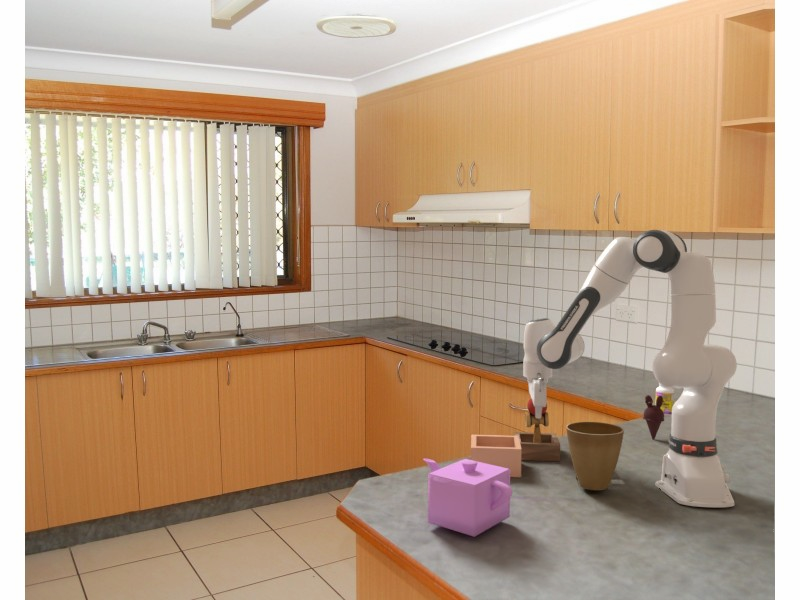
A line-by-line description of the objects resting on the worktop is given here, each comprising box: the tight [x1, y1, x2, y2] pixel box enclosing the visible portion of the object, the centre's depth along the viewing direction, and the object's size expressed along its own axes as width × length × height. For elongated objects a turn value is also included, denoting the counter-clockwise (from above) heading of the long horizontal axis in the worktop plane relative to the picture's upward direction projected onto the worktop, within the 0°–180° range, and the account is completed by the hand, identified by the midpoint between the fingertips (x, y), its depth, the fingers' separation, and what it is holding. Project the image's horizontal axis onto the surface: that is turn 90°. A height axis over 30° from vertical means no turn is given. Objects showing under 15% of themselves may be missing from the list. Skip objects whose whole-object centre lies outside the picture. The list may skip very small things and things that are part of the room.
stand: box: [470, 434, 522, 478], centre depth 206 cm, size 14×14×8 cm
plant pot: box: [565, 421, 625, 491], centre depth 191 cm, size 15×15×16 cm
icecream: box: [642, 394, 665, 441], centre depth 237 cm, size 7×7×15 cm
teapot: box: [423, 458, 513, 538], centre depth 168 cm, size 15×25×14 cm, turn 51°
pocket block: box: [513, 431, 561, 462], centre depth 221 cm, size 13×13×5 cm
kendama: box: [524, 397, 550, 443], centre depth 220 cm, size 8×6×18 cm
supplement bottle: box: [654, 382, 675, 414], centre depth 273 cm, size 7×7×13 cm
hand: (537, 415), depth 220 cm, fingers closed on kendama, 6 cm apart
